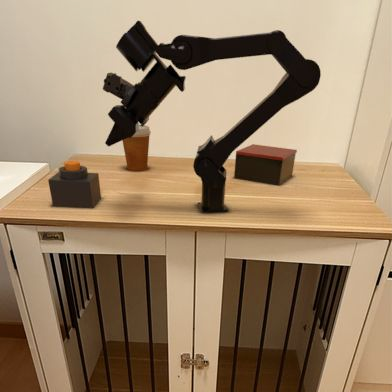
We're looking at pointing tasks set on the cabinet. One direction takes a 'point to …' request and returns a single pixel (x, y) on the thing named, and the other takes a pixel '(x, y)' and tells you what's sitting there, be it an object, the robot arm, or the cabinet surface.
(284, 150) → the red rectangular panel
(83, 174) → the control box
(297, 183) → the cabinet surface
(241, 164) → the dark brown box
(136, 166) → the disposable coffee cup
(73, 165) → the button
